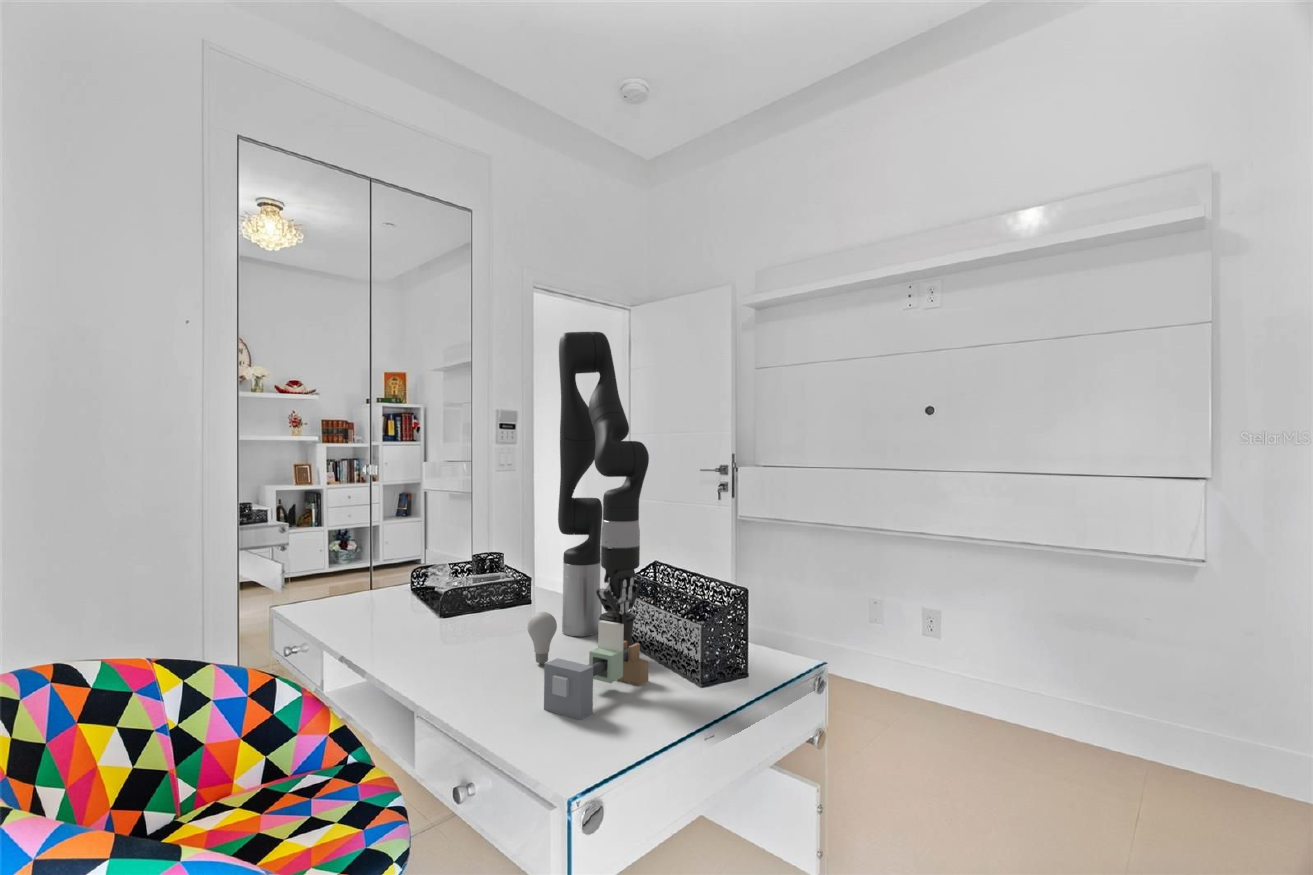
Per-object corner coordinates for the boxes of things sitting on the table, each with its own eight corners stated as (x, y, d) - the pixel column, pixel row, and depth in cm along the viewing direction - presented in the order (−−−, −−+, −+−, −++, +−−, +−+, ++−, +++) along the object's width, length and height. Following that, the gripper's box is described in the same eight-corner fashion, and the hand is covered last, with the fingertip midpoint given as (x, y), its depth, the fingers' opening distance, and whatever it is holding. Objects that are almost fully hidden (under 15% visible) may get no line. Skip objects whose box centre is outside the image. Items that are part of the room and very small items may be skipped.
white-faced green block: (601, 672, 128) (602, 620, 128) (622, 676, 126) (623, 624, 126) (588, 678, 125) (589, 624, 125) (610, 683, 122) (611, 629, 122)
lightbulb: (528, 670, 136) (529, 616, 136) (525, 660, 142) (526, 609, 142) (557, 668, 138) (558, 615, 138) (554, 658, 143) (555, 607, 144)
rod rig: (614, 673, 135) (615, 633, 135) (648, 680, 131) (648, 640, 131) (540, 710, 115) (541, 664, 115) (577, 721, 111) (578, 673, 111)
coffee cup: (630, 666, 140) (631, 618, 140) (593, 662, 141) (594, 615, 141) (639, 654, 147) (639, 609, 148) (604, 651, 149) (604, 606, 149)
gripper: (623, 537, 137) (621, 622, 136) (584, 545, 125) (583, 637, 125) (654, 540, 133) (653, 627, 132) (617, 549, 121) (616, 644, 121)
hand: (619, 632), depth 129 cm, fingers closed
